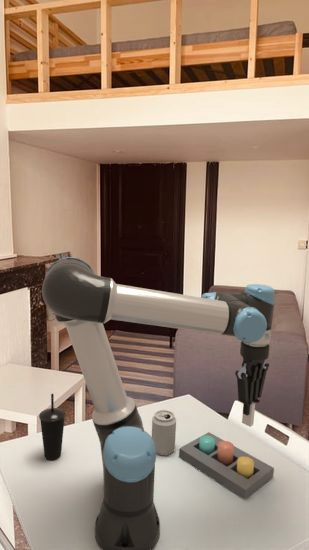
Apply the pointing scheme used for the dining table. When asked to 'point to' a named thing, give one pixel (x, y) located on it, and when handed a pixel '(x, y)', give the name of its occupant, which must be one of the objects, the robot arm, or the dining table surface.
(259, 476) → the tray
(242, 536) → the dining table surface
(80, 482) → the dining table surface
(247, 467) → the yellow plastic cylinder
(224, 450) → the coral button
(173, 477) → the dining table surface
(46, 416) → the drinking cup
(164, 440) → the can
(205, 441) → the teal cylinder
